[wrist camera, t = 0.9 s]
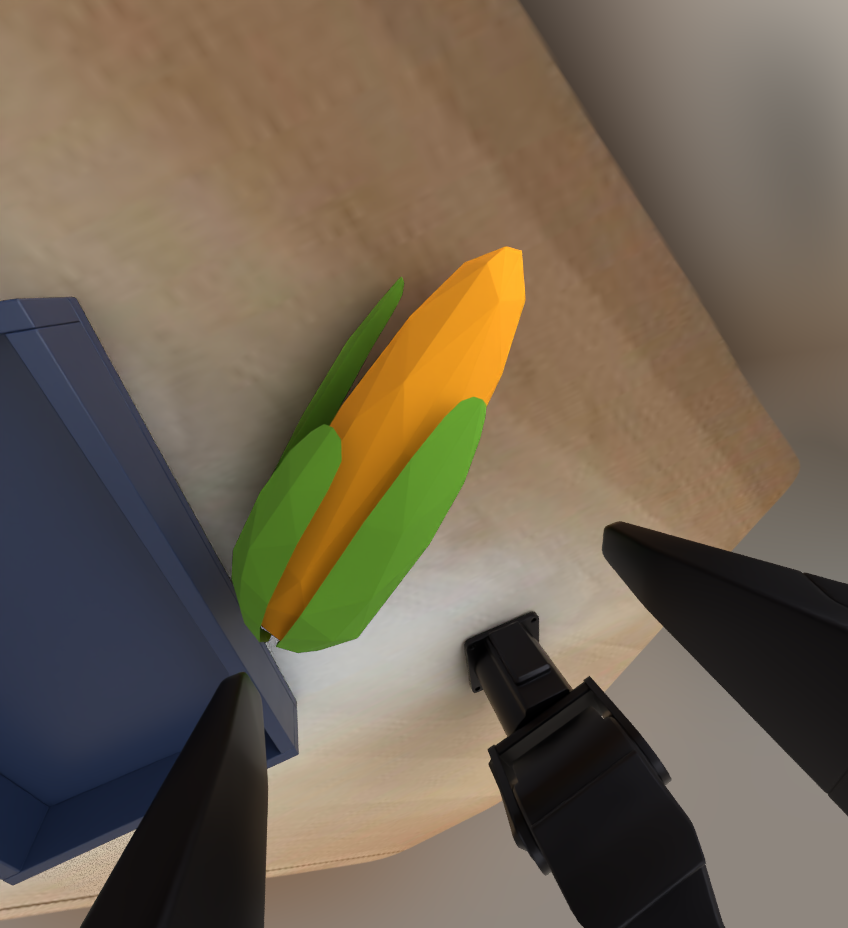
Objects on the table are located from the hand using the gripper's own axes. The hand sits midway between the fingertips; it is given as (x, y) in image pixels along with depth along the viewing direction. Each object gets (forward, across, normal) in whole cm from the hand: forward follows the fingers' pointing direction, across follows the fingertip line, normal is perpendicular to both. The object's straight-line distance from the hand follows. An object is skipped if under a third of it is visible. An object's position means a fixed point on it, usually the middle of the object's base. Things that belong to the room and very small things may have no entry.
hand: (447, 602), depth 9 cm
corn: (+12, 0, 0) cm, 12 cm away
